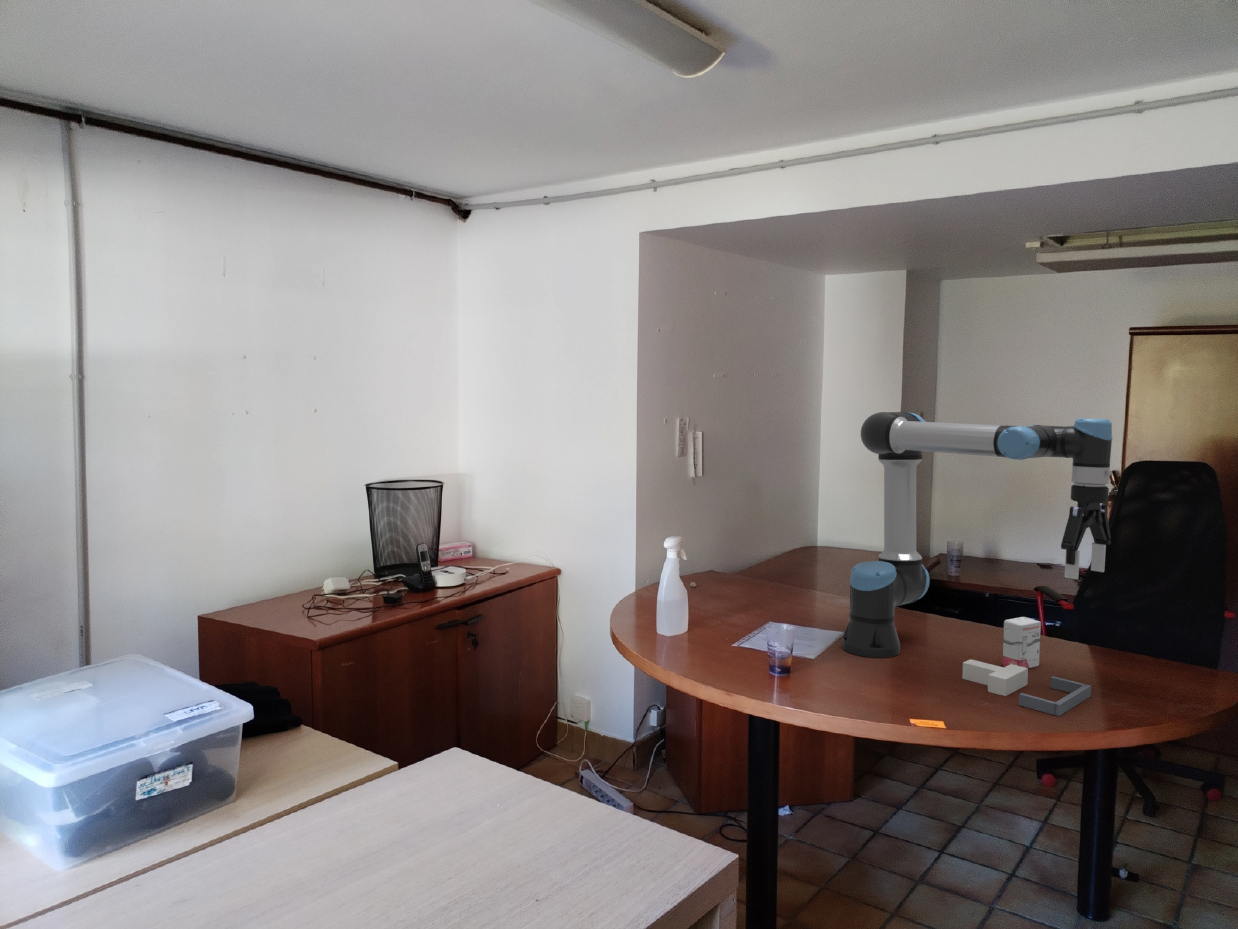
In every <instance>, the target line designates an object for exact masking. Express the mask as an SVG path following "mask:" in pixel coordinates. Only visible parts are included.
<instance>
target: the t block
mask: <svg viewBox="0 0 1238 929" xmlns="http://www.w3.org/2000/svg"><path fill="white" fill-rule="evenodd" d="M1028 677H1029V668H1025V667H1021V666H1017V665H1013V664H1010V665H1008V666H999V665H996V664H991V663H987V662H983V661H980V660H976V659H971V658H970V659H968V660H966V661H963V662H962V679H963V680H965V681H966V680H967V681H971V682H974V683H978V684H980V685H981V684H982V685H985V686H987V692H989V693H993V694H996V695H999V696H1002V695H1003V696H1002V697H1007V696H1009V695H1010V694H1013V693H1014V692H1016V691H1018V690H1020V689H1022V688H1023V687H1025V686H1027V685H1028V679H1029V678H1028Z"/></svg>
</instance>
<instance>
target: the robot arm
mask: <svg viewBox="0 0 1238 929" xmlns="http://www.w3.org/2000/svg"><path fill="white" fill-rule="evenodd" d="M1112 430H1113V424H1112V421H1111V420H1110V419H1108V418H1086V417H1085V418H1083V417H1082V418H1076V419H1075V421H1074V424H1073V425H1071V426H1070V425H1068V426H1061V425H1041V424H1033V425H1000V424H982V423H981V424H980V423H960V422H959V423H956V422H938V421H936V422H933V421H925V419H923V418H922V417H921V415H918V414H917V413H914V412H908V411H887V412H886V411H879V412H875V413H874V414H871V415H870V416H868V417H867V418H866V419H865V420H864V422H863V423H862V426H861V428H860V439H861V442H862V444H863V446H864V447H865V448H866V449H867V450H868V451H870V452H871V453H874V454H875V455H876V454H877V456H878V461H879V463H881V464H882V465H883V551H882V552H881V553H880V554H878V560H870V561H863V562H859V563H857V564H855V565H854V566H853V567H852V568H851V571H850V578H849V586H850V588H849V620H848V622H847V625H846V627H845V631H844V633H843V636H842V639H841V647H842V649H843V651H846V652H848V653H851V654H853V655H857V656H861V657H867V658H876V659H877V658H880V659H881V658H890V657H891V658H892V657H896V656H898V655H899V654H900V653H901V642H900V638H899V636H898V635H899V634H898V631H897V629H896V626H895V608H896V607H899V606H903V605H907V604H908V605H909V604H912V603H915V602H916V601H918V600H920V599H921V598H923V597H924V596H925V595H926V593H927V592H928V589H929V587H930V582H931V581H930V574H929V572H928V569H926V568H925V566H924V564H923V556H922V555H921V554H920V552H918V551H917V466H918V465H919V464H920V463H921V462H922V461H923V452H931V453H942V454H957V455H972V456H984V457H997V458H998V457H1000V458H1007V459H1011V460H1018V461H1021V460H1026V459H1037V458H1038V459H1039V458H1062V459H1063V458H1066V459H1067V458H1068V459H1072V468H1071V482H1072V483H1073V484H1072V485H1071V486H1070V487H1071V488H1070V500H1071V501H1073V502H1076V503H1077V505H1076V506H1070V507H1069V513H1068V518H1067V522H1066V526H1065V529H1064V533H1063V536H1062V541H1061V542H1060V543H1061V544H1060V548H1061V550H1065V562H1064V578H1066V579H1073V580H1079V575H1080V574H1079V572H1080V557H1081V556H1080V554H1081V551H1080V550H1079V548H1080V545H1081V543H1082V540H1083V539H1084V536H1085V533H1086V531H1087V529H1089V530H1090V532H1091V536H1092V538H1093V542H1094V543H1091V545H1092V546H1091V558H1090V559H1091V561H1090V571H1093V572H1099V573H1104V572H1105V566H1106V564H1105V563H1106V552H1107V551H1106V550H1107V549H1106V548H1107V545H1108V546H1111V544H1112V537H1111V529H1110V523H1109V519H1108V510H1107V509H1108V504H1107V502H1108V501H1109V492H1110V491H1109V486H1107V485H1109V483H1110V482H1109V481H1110V476H1112V474H1113V473H1112V472H1111V471H1110V468H1111V458H1112V457H1111V454H1112V443H1113V434H1112V433H1113V431H1112Z"/></svg>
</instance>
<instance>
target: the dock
mask: <svg viewBox="0 0 1238 929" xmlns="http://www.w3.org/2000/svg"><path fill="white" fill-rule="evenodd" d="M1049 684H1050V686H1049V688H1051V689H1054V690H1059V691H1062V692H1066V693H1069V694H1067V695H1065V696H1063V697H1062V698H1060V699H1058V700H1057V701H1053V700H1048V699H1045V698H1042V697H1038V696H1034V695H1031V694H1027V693H1024V692H1021V693H1019V695H1018V696H1019V697H1018V706H1020V707H1021V706H1022V707H1024V708H1029V709H1032V710H1035V711H1037V712H1038V711H1039V712H1042V713H1046V714H1049V715H1053V716H1055V717H1060V716H1063V715H1064V714H1065V713H1067V712H1068V711H1070V710H1071V709H1073V708H1075V707H1076V706H1078V705H1079V704H1081V703H1082V702H1084V701H1086V700H1087V699H1089V698H1090V697H1091V695H1092V685H1090V684H1087V683H1083V682H1082V683H1081V682H1078V681H1073V680H1069V679H1065V678H1062V677H1057V676H1055V675H1054V676H1050V683H1049Z"/></svg>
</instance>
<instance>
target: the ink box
mask: <svg viewBox="0 0 1238 929" xmlns="http://www.w3.org/2000/svg"><path fill="white" fill-rule="evenodd" d="M1041 627H1042V622H1041V621H1039V620H1035V619H1033V618H1030V617H1026V616H1020V617H1015V618H1009V619H1005V620H1004V621H1003V642H1002V643H1003V644H1002V667H1006V666H1008V665H1010V664H1013V665H1017V666H1021V667H1025V668H1028V669H1031V668H1034V667H1038V666H1040V651H1041V650H1040V647H1041V645H1040V644H1041V629H1042V628H1041Z"/></svg>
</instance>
